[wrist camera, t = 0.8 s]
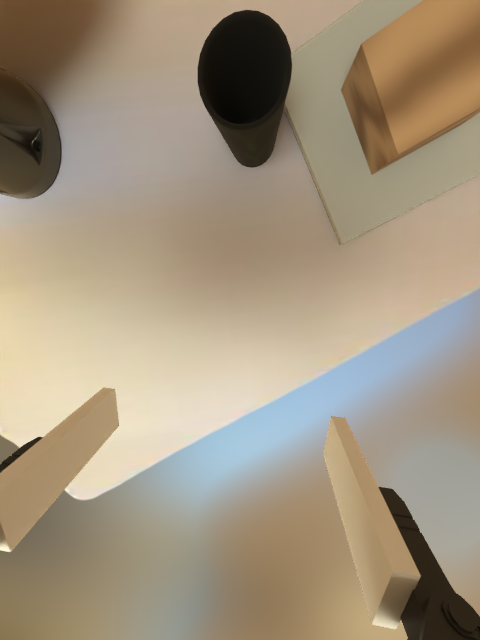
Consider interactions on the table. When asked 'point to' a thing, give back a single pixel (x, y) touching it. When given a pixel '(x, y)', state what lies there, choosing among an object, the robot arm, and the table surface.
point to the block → (415, 79)
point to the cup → (246, 82)
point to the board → (342, 141)
